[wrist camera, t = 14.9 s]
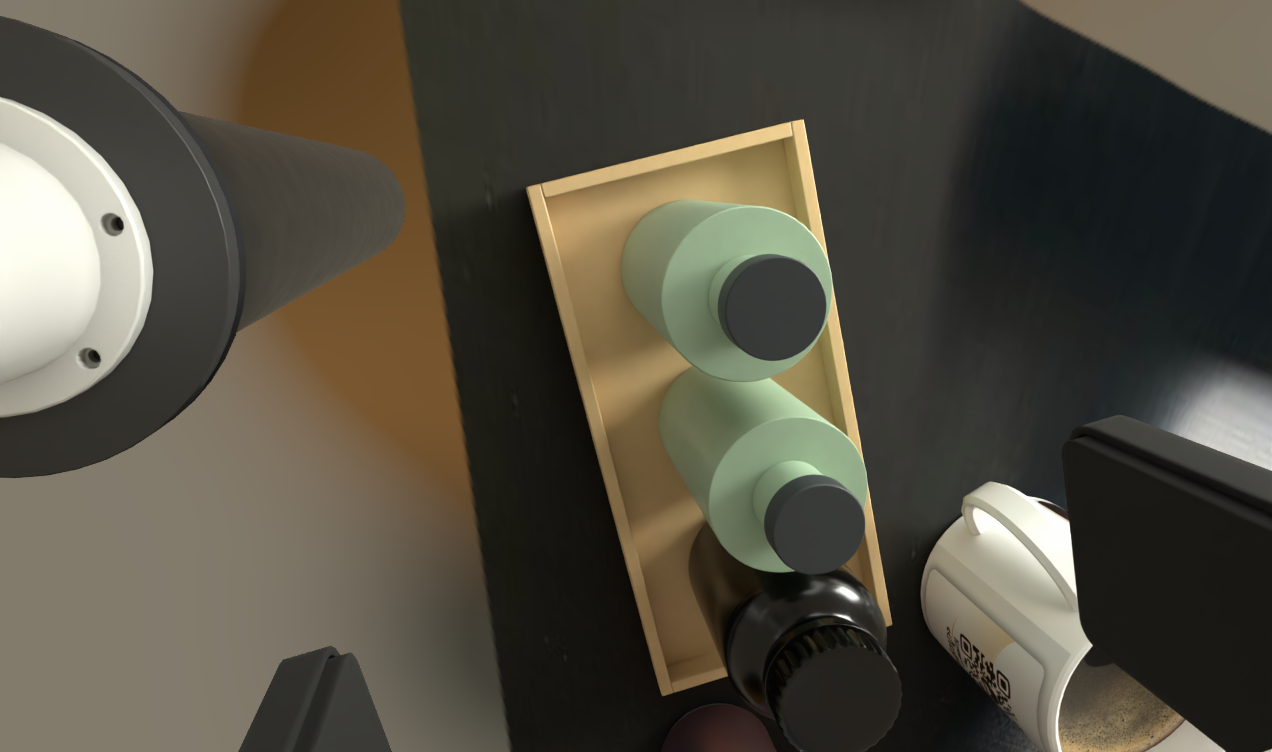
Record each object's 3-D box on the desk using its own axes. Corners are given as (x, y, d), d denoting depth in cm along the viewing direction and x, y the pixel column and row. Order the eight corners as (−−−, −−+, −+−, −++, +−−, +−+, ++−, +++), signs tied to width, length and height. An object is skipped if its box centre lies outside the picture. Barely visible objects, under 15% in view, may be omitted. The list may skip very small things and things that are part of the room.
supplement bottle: (751, 466, 40) (849, 581, 28) (842, 548, 42) (970, 688, 30) (655, 566, 40) (714, 720, 29) (749, 644, 42) (840, 817, 31)
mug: (892, 660, 45) (1013, 810, 34) (930, 450, 42) (1073, 540, 31) (1066, 660, 46) (1232, 803, 36) (1112, 458, 44) (1306, 546, 33)
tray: (654, 672, 43) (662, 697, 40) (525, 187, 36) (526, 187, 34) (875, 605, 44) (892, 625, 42) (787, 122, 37) (804, 118, 35)
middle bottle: (673, 493, 40) (750, 636, 27) (645, 377, 38) (713, 472, 26) (790, 459, 40) (918, 584, 28) (767, 343, 39) (892, 420, 26)
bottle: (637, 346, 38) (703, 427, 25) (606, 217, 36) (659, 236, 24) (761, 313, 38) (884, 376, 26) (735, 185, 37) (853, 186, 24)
